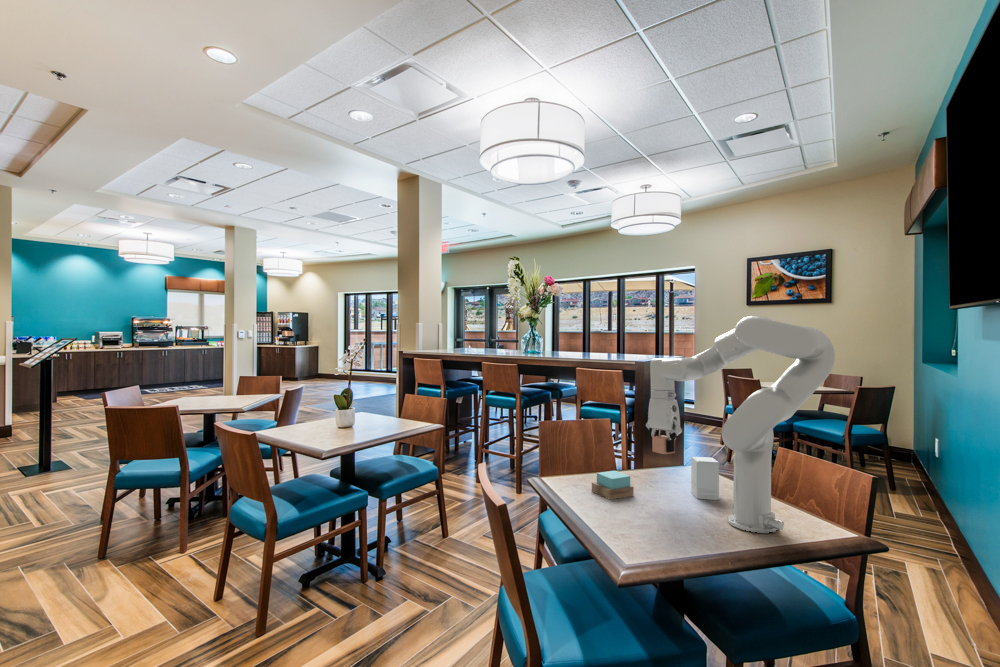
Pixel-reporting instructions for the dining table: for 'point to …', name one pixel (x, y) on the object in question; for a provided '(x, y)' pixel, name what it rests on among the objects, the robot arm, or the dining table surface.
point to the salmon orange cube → (660, 444)
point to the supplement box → (705, 478)
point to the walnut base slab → (612, 491)
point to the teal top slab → (613, 479)
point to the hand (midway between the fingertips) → (663, 449)
